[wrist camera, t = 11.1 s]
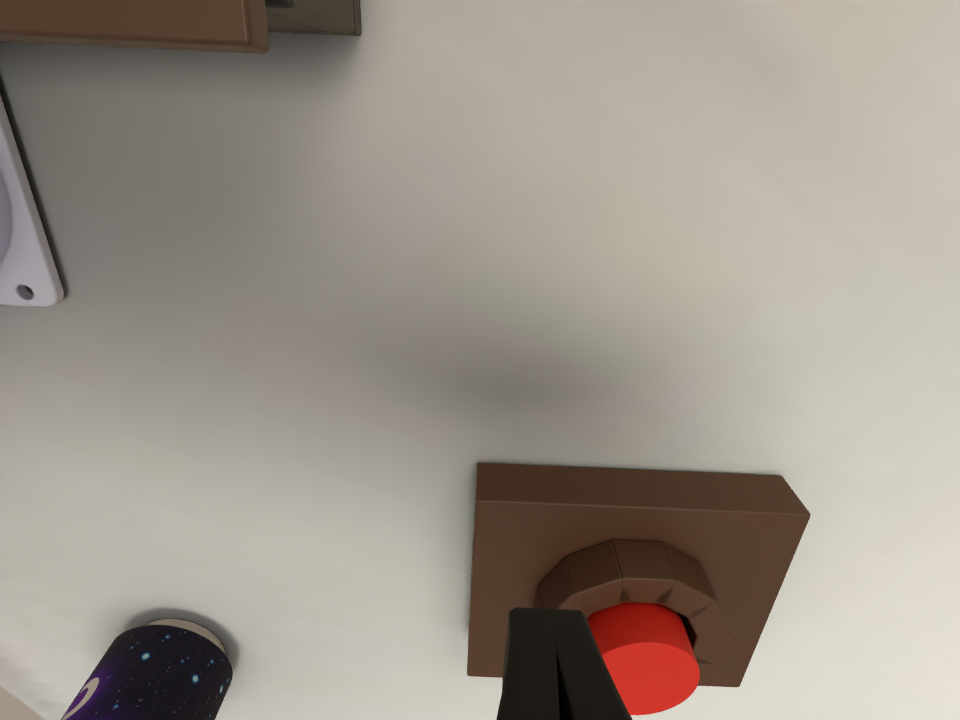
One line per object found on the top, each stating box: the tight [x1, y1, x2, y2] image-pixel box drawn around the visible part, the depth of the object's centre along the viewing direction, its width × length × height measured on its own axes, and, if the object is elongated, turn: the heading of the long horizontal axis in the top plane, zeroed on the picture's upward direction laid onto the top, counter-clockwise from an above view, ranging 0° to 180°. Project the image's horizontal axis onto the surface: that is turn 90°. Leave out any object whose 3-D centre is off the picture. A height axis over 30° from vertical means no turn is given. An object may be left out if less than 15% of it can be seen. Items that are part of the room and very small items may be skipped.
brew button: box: [587, 602, 700, 715], centre depth 19 cm, size 4×4×2 cm
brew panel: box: [467, 463, 810, 687], centre depth 22 cm, size 12×10×4 cm
